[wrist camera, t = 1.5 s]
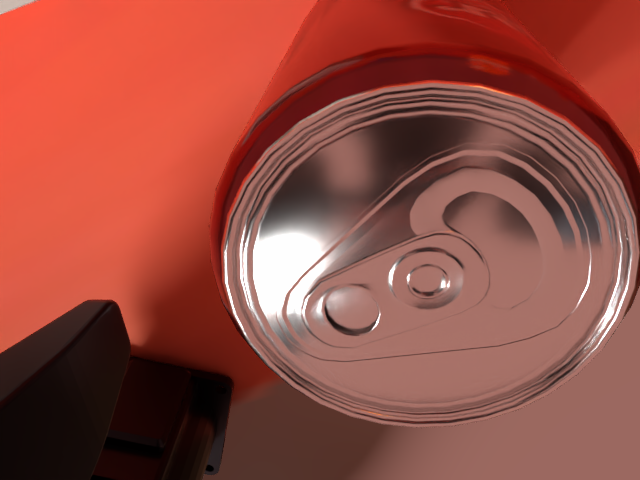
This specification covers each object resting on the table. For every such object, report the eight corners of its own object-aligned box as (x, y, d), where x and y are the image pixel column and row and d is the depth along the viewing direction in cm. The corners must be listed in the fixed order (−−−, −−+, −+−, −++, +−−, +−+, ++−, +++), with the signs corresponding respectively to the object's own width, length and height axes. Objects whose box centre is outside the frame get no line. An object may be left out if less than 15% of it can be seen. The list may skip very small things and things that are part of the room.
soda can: (475, -92, 17) (608, -46, 7) (542, 130, 20) (703, 384, 10) (253, 18, 19) (109, 175, 9) (346, 204, 23) (316, 476, 12)
